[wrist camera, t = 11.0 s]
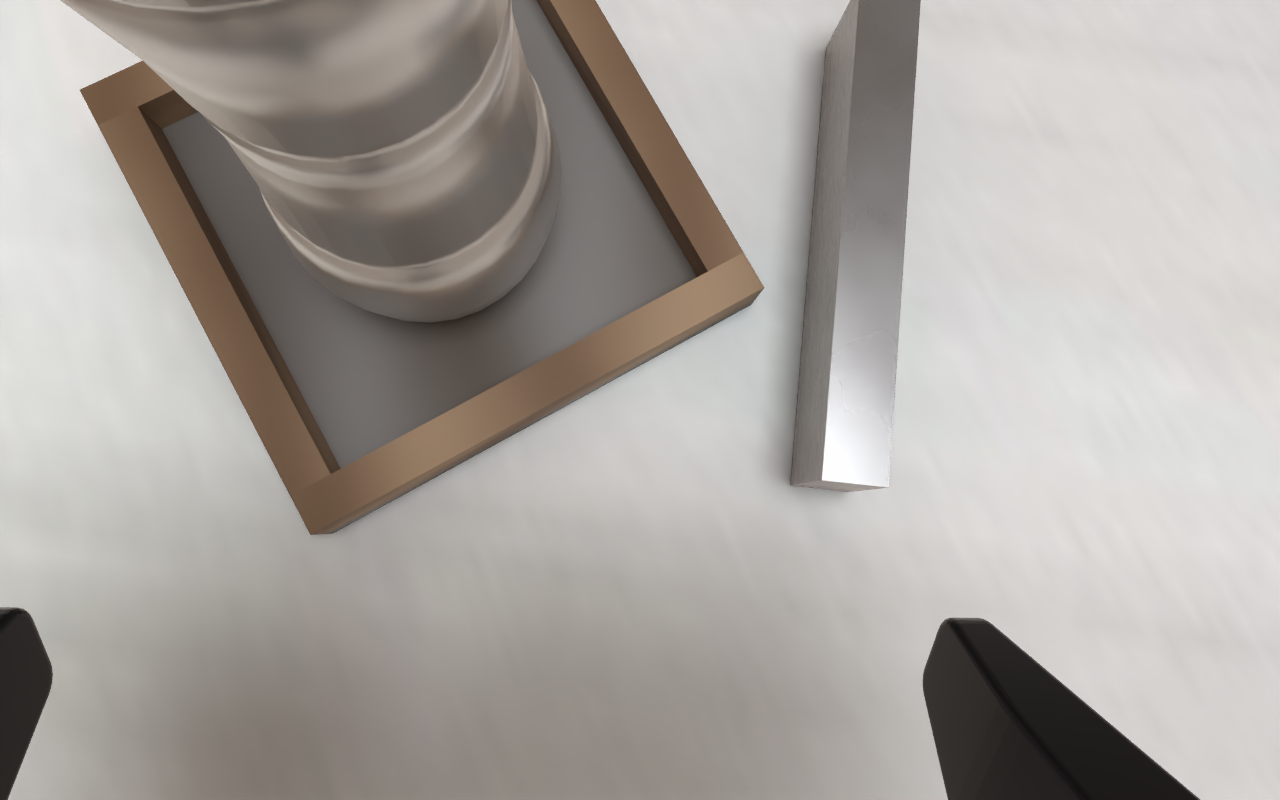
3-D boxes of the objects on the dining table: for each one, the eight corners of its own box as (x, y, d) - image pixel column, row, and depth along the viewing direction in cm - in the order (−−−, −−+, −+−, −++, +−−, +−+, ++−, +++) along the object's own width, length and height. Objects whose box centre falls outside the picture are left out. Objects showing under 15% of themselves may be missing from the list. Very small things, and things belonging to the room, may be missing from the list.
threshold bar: (848, 491, 22) (888, 487, 19) (790, 485, 22) (822, 480, 19) (879, 55, 24) (921, -11, 21) (826, 48, 24) (860, -19, 21)
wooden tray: (331, 533, 21) (310, 534, 20) (117, 122, 22) (79, 89, 21) (751, 304, 23) (764, 287, 21) (530, -73, 24) (526, -117, 22)
